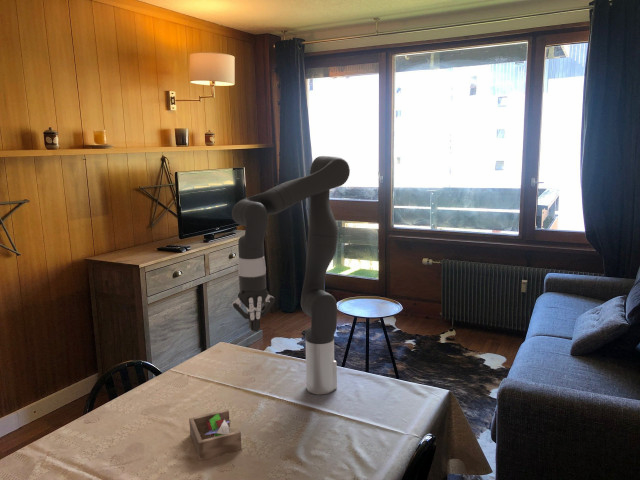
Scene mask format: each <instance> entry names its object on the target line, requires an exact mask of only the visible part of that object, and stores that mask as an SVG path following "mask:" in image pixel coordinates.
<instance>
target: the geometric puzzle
mask: <svg viewBox="0 0 640 480" xmlns="http://www.w3.org/2000/svg"><path fill="white" fill-rule="evenodd" d="M222 416H223V415H222ZM225 418H226V417H225ZM225 420H226V419H220V416H219V413H217V414H216V415H215V416H214V417H212V418H211V419H210V420H208V421H210V422H206V423H207V426H208V428H209V432H207V433H206V432H205V433H204V436H208V437H216V436H220V435H224V434H228V433H231V430H230V427H229V426H228V423H229V422H230V424H231V422H232V421H231V419H229V421H225ZM230 424H229V425H230ZM230 426H231V425H230ZM205 430H206V429H205Z"/></svg>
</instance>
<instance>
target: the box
mask: <svg viewBox="0 0 640 480" xmlns="http://www.w3.org/2000/svg"><path fill="white" fill-rule="evenodd" d="M217 413H219V416H220V419H226V420H225V421H229V420H230V411H229V409H224V410H219V411H215V412H212V413H206V414H202V415H198V416H193V417H189V418H188V420H189V421H188V423H189V433H190V435H189V436H190V438H191V441H192V443H193V446H194V448H195V451H196V453H197V456H198V458H199V461H203V460H207V459H211V458H215V457H219V456H222V455H226V454H230V453H234V452H238V451H242V432H241V431H240V430H235V431H233V432H230V433H228V434H224V435H220V436H216V437H215V436H211V437H209V438H208V437H207V438H205V439H202V436H201V435H203V434H206V433H208V432H209V428H208V426H207V423H206V422H210V421H208V420H210V419H211V418H212V417H214V416H215V415H216V414H217ZM222 415H223V416H222ZM225 417H226V418H225ZM230 423H231V422H229V423H228V426H229V428H230V427H231V425H229V424H230ZM205 429H206V430H205ZM205 432H206V433H205Z"/></svg>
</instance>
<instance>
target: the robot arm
mask: <svg viewBox="0 0 640 480" xmlns="http://www.w3.org/2000/svg"><path fill="white" fill-rule="evenodd" d="M309 169H310V170H309V174H307V175H305V176H302V177H298V178H295V179H291V180H287V181H284V182H283V183H282V182H281V183H280V184H278V185H276V186H274V187H272V188H270V189H267V190H266V191H264V192H261V193H258V194H255V195H252V196H251V195H250V196H248V197H246V198H242V199H240V200H239V201H238V202H237V203H235V204H234V206H233V207H232V210H231V217H232V219H233V222H235V223H236V224H238V225H239V226H244V227H245V232H244V235H241V236H239V237H238V241H237V243H238V244H237V246H238V248H237V249H238V261H237V263H238V265H237V267H238V271H237V272H238V287H239V290H238V291H239V292H238V294H237V298H236V299H235V300H234V301H231V302H230V305H231V306H232V307H233V308H234V309H235V310H236V311H237V312H238V313H239V314H240V315H241V316H242V318H244V319H245V320H248V328H249V330H250V331H252V333H256V332H259V330H260V329H261V318H262V317H266V315H267V313H269V311H270V309H272V306H273V305H274V303H275V302H276V298H275V297H274V296H272V295H270V294H269V292H268V289H267V274H266V273H267V272H266V271H267V267H266V259H265V245H264V241H265V238H266V232H267V228H268V222H269V215H277V214H279V213H281V212H283V211H285V210H287V209H289V208H291V207H293V206H294V205H296V204H297V203H300V202H301V201H304V200H306V199H308V198H310V199H309V200H310V201H309V202H310V204H309V220H308V221H309V222H308V223H309V224H308V231H307V232H308V233H307V245H306V246H307V248H306V251H307V252H306V262H305V272H304V273H305V274H304V279H303V285H302V290H301V297H300V307H301V309H302V312H303V313H304V314H306V316H308V317H310V318H311V319H310V321H311V324H310V325H311V326H310V327H308V328H307V329H306V330H305V335H304V336H305V371H306V372H305V374H306V375H305V376H306V377H305V379H306V381H305V382H306V383H305V384H306V390H307V392H308V393H311V394H314V395H326V394H330V393H332V392H334V391H335V390H337V389H338V373H337V372H338V371H337V370H338V367H337V365H338V364H337V363H338V362H337V361H336V360H335V333H336V330H337V323H338V320H337V319H338V305H337V304H338V303H337V300H336V298H335V297H334V296H333V294H330V293H329V292H327V291H325V281H326V274H327V270H328V269H329V266H330V264H331V263H332V261H333V259H334V256H335V254H336V251H337V246H338V245H337V244H338V234H339V233H338V231H339V230H338V225H337V222H336V218H335V216H334V213H333V211H332V208H331V207H332V206H331V203H330V202H331V201H330V192H331V190H333V189H335V188H339V187H341V186H343V185H344V184H346V182H348V180H349V177H350V173H351V172H350V171H351V169H350V165H349V162H347V161H346V160H345V159H344V158H342V157H339V156H328V155H321V156H317V157H315V158H314V160H313V161H312V163H311V166H310V168H309ZM263 303H264V304H263ZM242 304H243V305H244V307H245V308H246V312H245V311H244V310H243V309H242V308H241V306H242Z"/></svg>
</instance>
